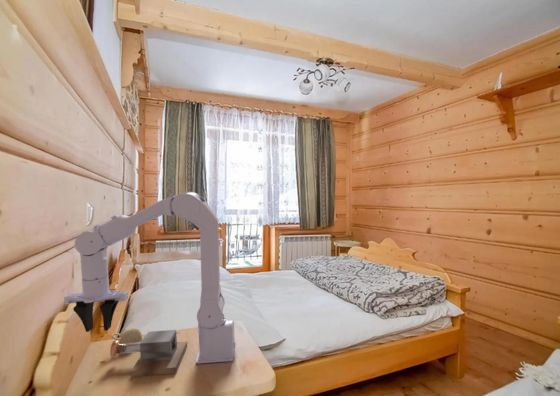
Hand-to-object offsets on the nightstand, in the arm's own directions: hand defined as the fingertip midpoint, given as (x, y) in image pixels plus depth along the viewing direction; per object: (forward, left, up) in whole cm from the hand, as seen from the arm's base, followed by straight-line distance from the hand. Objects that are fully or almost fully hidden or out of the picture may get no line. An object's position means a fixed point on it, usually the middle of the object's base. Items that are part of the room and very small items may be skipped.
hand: (98, 329), depth 77 cm
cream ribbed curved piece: (-4, -8, -10) cm, 13 cm away
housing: (-16, 0, -9) cm, 18 cm away
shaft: (-9, 0, -7) cm, 12 cm away
